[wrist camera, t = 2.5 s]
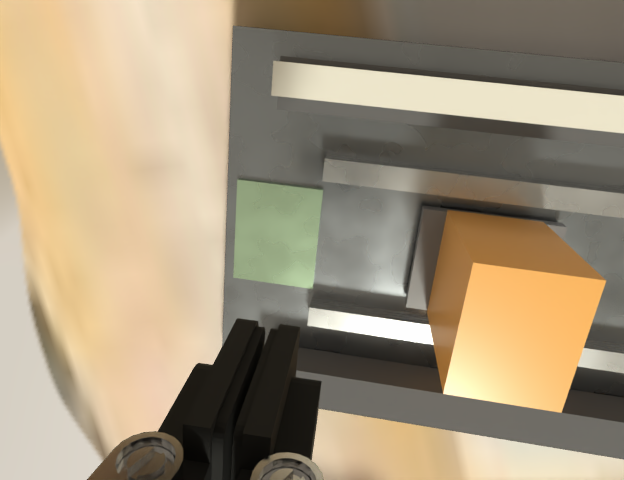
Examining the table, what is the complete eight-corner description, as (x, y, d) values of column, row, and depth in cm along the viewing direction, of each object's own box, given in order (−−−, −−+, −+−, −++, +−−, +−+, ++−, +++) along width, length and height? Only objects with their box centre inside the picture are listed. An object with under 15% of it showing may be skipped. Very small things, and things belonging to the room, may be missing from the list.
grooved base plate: (774, 105, 18) (853, 112, 15) (637, 434, 24) (674, 487, 21) (289, 56, 20) (273, 54, 17) (266, 374, 26) (251, 415, 23)
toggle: (562, 220, 21) (641, 285, 15) (533, 321, 22) (591, 417, 16) (423, 203, 21) (440, 258, 15) (404, 303, 23) (414, 389, 17)
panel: (811, 83, 20) (883, 85, 17) (660, 429, 26) (694, 473, 23) (245, 29, 22) (225, 23, 19) (231, 361, 28) (215, 393, 25)
